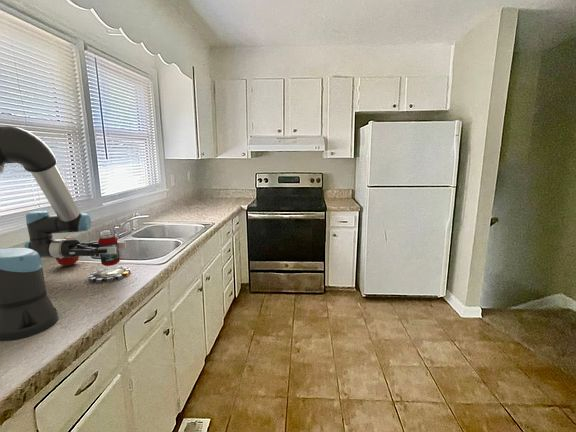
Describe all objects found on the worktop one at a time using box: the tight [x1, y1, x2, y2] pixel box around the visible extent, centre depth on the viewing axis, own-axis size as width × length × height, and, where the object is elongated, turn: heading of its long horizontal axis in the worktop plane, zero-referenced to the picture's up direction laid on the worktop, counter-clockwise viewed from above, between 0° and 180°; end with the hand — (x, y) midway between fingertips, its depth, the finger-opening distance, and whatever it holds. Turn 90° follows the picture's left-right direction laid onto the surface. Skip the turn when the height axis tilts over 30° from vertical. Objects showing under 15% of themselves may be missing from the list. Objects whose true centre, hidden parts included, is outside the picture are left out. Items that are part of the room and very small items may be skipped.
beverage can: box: [97, 233, 121, 267], centre depth 131 cm, size 7×7×12 cm
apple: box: [54, 236, 80, 267], centre depth 147 cm, size 10×10×14 cm
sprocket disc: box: [88, 266, 131, 284], centre depth 133 cm, size 15×15×2 cm
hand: (120, 247), depth 131 cm, fingers closed on beverage can, 7 cm apart
